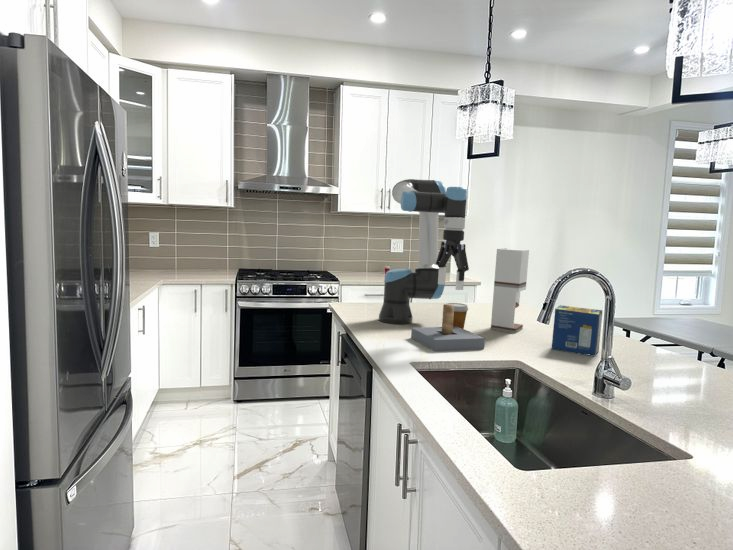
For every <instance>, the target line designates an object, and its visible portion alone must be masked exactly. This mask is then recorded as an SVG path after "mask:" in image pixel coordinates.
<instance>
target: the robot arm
mask: <svg viewBox="0 0 733 550" xmlns="http://www.w3.org/2000/svg"><path fill="white" fill-rule="evenodd" d="M391 193H392V194H391V195H392V197H393V200H394V201H395V202H396V203H397V204H400V210H402V211H403V212H411V213H412V212H416V213H417V212H418V213H419V220H418V221H419V222H418V223H419V225H418V227H419V229H418V231H419V232H418V265H417V266H416V267H415V269H414V272H413V271H412V269H411V268H395V269H390V270H387V271H386V272H385V274H384V281H383V282H384V286H383V287H384V290H383V304H382V305H381V309H380V311H379V314H378V321H380V322H382V323H385V324H392V325H406V324H412V323H413V314H412V310H411V306H410V299H418V300H419V299H423V300H424V299H425V300H438V299H440V298H441V297H442V295H443V293H444V292H445V291H444V289H445V285H446V274H447V264H448V262H449V259H450V258H451V256H452V257H453V259H454V262H455V265H456V268H457V270H456V277H455V278H456V279H455V291H462V290H464V283H465V273H466V272H467V271H468V272H469V269H470V268H469V263H468V257H467V252H466V244H465V243H461V242H463V241H464V239H465V231H464V230H465V228H466V215H467V214H466V213H467V211H466V210H467V200H468V189H467V188H466V187H463V186H448V187H446V186H445V184H444V182H442V181H441V180H436V179H435V180H434V179H418V178H417V179H415V178H409V179H403V180H400V181H398V182H397V183H396V184H394V185H393V187H392V191H391ZM439 214H444V220H443V229H444V230H443V234H442V239H443V241H441V242H440V248H439Z"/></svg>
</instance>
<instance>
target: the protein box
mask: <svg viewBox="0 0 733 550" xmlns="http://www.w3.org/2000/svg"><path fill="white" fill-rule="evenodd" d="M602 318H603V310H602V309H595V308H593V309H592V308H587V307H586V308H585V307H578V306H567V305H561V304H560V305H558V306H557V307H556V308H554V317H553V319H554V320H553V330H552V340H551V341H552V342H551V347H550V348H551V350H556V351H561V352H566V351H567V352H568V353H572V352H573V354H578V353H580V354H579V355H584V354H590V355H595V354H596V353H597V354H598V352H599V351H600V343H601V342H600V341H601V339H600V338H601V328H602ZM597 354H596V355H597ZM590 355H589V356H590ZM596 355H595V356H596Z"/></svg>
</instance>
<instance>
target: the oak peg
mask: <svg viewBox="0 0 733 550" xmlns="http://www.w3.org/2000/svg"><path fill="white" fill-rule="evenodd" d="M453 317H454V305H451V304H447V303H444V304H443V307H442V319H441V321H442V322H441V323H442V324H441V327H442V334H443V335H452V332H453Z"/></svg>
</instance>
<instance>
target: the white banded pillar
mask: <svg viewBox="0 0 733 550" xmlns="http://www.w3.org/2000/svg"><path fill="white" fill-rule="evenodd" d="M529 255H530V249H523V250H522V249H508V248H506V247H505V248H496V255H495V269H494V270H495V271H494V283H493V296H492V307H491V308H492V309H491V319H490V320H491V323H490V330H491V331H498V332H504V333H509V334H517V333H519V332H521V331H522V330H523V328H524V324H520V323H515V316H516V315H515V314H516V309H517V308H519V307H520V301H521V292H523V291H525V290H527V280H528V270H529V269H528V268H529V258H530V257H529Z"/></svg>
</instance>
